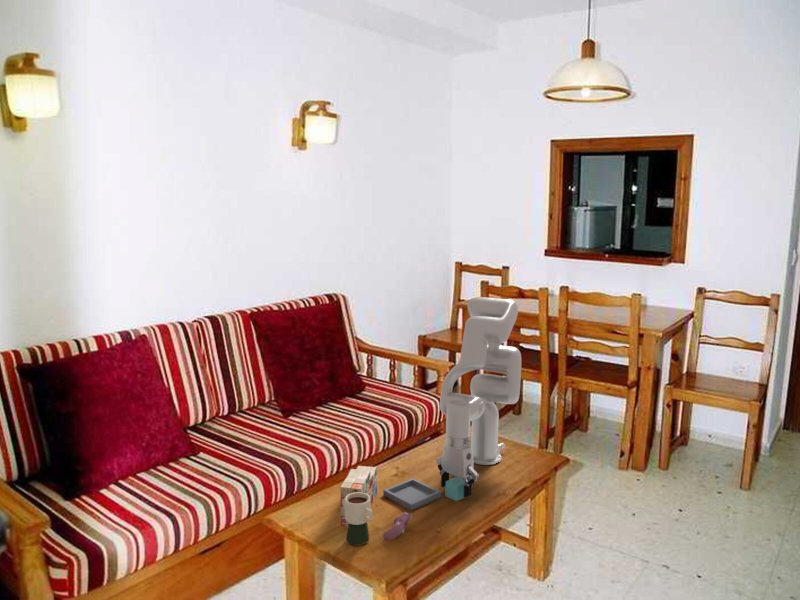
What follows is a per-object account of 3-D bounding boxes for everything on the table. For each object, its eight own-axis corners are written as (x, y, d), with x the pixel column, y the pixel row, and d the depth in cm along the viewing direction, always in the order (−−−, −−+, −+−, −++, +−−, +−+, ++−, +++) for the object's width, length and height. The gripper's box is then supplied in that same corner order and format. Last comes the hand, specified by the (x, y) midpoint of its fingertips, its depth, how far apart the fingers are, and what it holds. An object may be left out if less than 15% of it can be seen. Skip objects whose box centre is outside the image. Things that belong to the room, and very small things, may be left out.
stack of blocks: (358, 492, 211) (358, 456, 209) (377, 494, 210) (377, 458, 208) (340, 525, 190) (340, 486, 188) (361, 527, 189) (361, 488, 187)
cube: (455, 491, 212) (456, 476, 212) (467, 496, 209) (467, 481, 208) (445, 495, 209) (445, 481, 208) (456, 501, 205) (457, 486, 205)
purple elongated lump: (394, 547, 182) (405, 529, 179) (380, 538, 183) (391, 519, 180) (406, 530, 191) (416, 512, 189) (393, 521, 192) (403, 503, 190)
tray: (412, 483, 217) (412, 477, 217) (441, 497, 208) (441, 491, 207) (383, 495, 208) (383, 489, 208) (411, 510, 199) (411, 504, 199)
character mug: (380, 543, 181) (380, 499, 179) (362, 554, 176) (362, 509, 173) (353, 529, 188) (352, 487, 186) (334, 539, 183) (334, 496, 180)
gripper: (486, 445, 202) (484, 497, 205) (445, 429, 214) (444, 478, 217) (470, 451, 197) (468, 504, 200) (429, 435, 209) (428, 485, 212)
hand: (456, 491), depth 208 cm, fingers open, 9 cm apart
